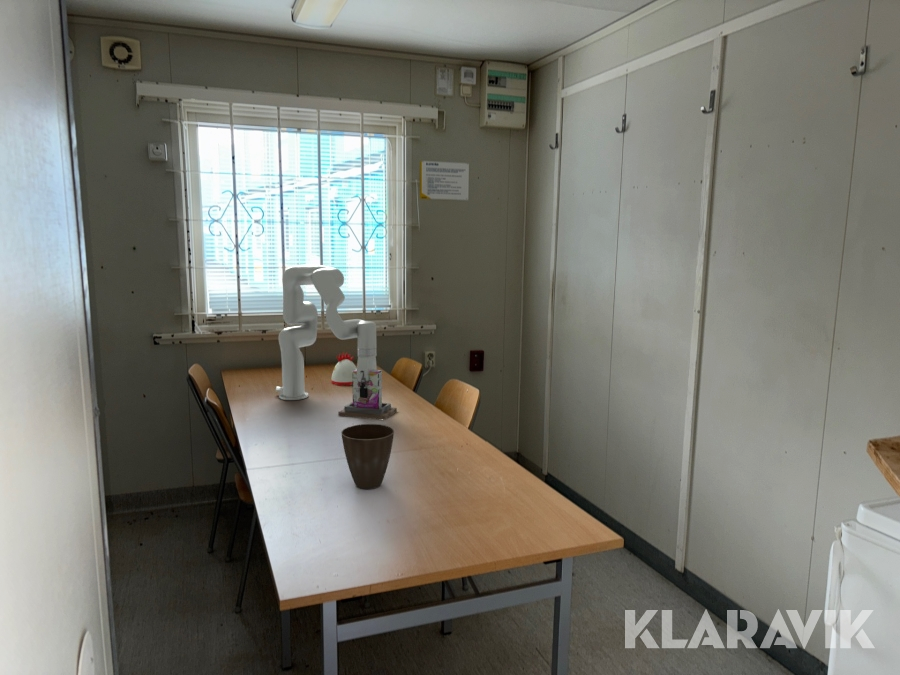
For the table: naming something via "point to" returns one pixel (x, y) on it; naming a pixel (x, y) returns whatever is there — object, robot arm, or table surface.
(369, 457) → the plant pot
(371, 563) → the table surface
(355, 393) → the candy bar box
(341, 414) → the stand
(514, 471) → the table surface
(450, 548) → the table surface
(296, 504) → the table surface
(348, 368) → the kitchen timer
